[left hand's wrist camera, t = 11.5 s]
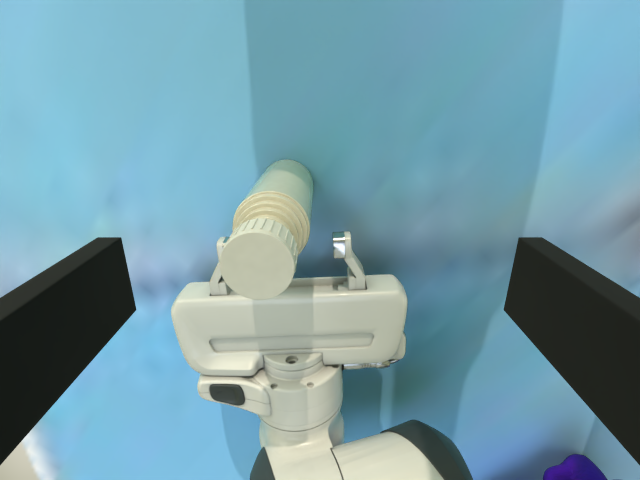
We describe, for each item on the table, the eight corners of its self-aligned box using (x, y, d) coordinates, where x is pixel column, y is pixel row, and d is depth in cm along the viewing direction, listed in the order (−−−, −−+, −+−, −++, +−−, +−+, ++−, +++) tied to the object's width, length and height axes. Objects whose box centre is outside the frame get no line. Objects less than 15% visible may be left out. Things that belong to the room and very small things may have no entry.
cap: (311, 241, 20) (310, 258, 18) (274, 292, 22) (269, 313, 20) (251, 203, 20) (243, 215, 18) (216, 257, 21) (204, 275, 19)
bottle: (323, 179, 35) (326, 253, 19) (294, 220, 36) (273, 321, 20) (279, 148, 34) (240, 198, 18) (251, 192, 35) (192, 274, 19)
